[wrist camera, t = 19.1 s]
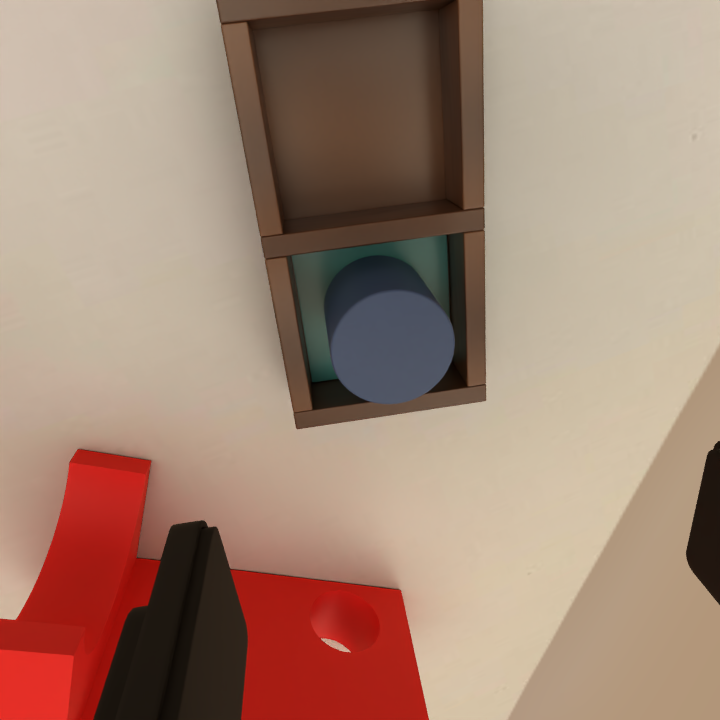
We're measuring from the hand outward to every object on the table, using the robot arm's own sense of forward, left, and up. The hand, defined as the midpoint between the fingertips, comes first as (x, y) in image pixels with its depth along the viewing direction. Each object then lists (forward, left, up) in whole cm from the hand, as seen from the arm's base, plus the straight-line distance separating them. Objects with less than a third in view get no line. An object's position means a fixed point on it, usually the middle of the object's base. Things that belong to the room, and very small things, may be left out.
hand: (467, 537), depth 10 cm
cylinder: (0, 0, -14) cm, 14 cm away
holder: (-3, 0, -15) cm, 15 cm away
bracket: (+14, -8, -15) cm, 22 cm away
